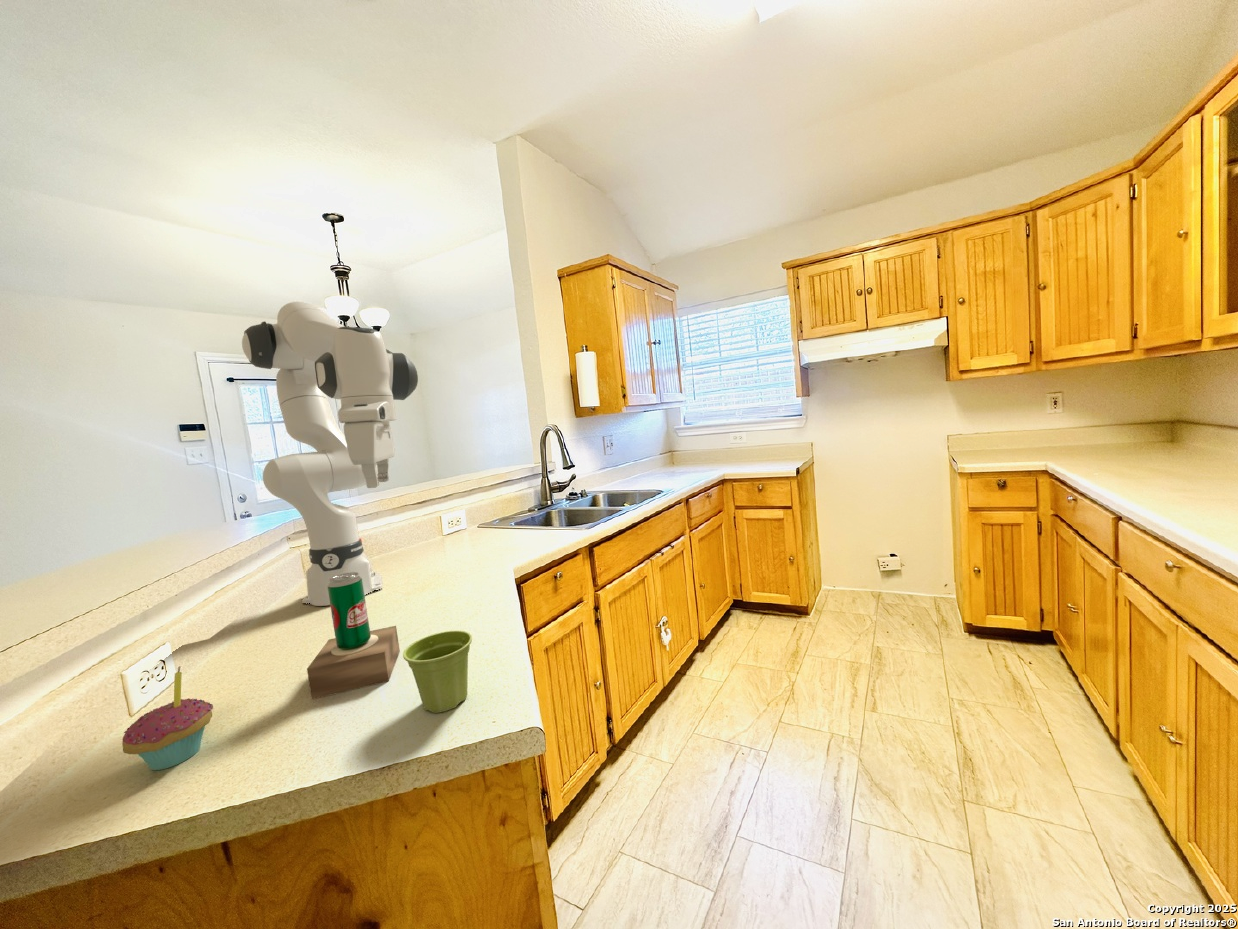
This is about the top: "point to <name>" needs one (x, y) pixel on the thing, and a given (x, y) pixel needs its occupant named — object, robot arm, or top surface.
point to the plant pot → (440, 668)
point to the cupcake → (169, 731)
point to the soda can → (349, 611)
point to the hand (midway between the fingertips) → (378, 484)
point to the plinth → (354, 664)
